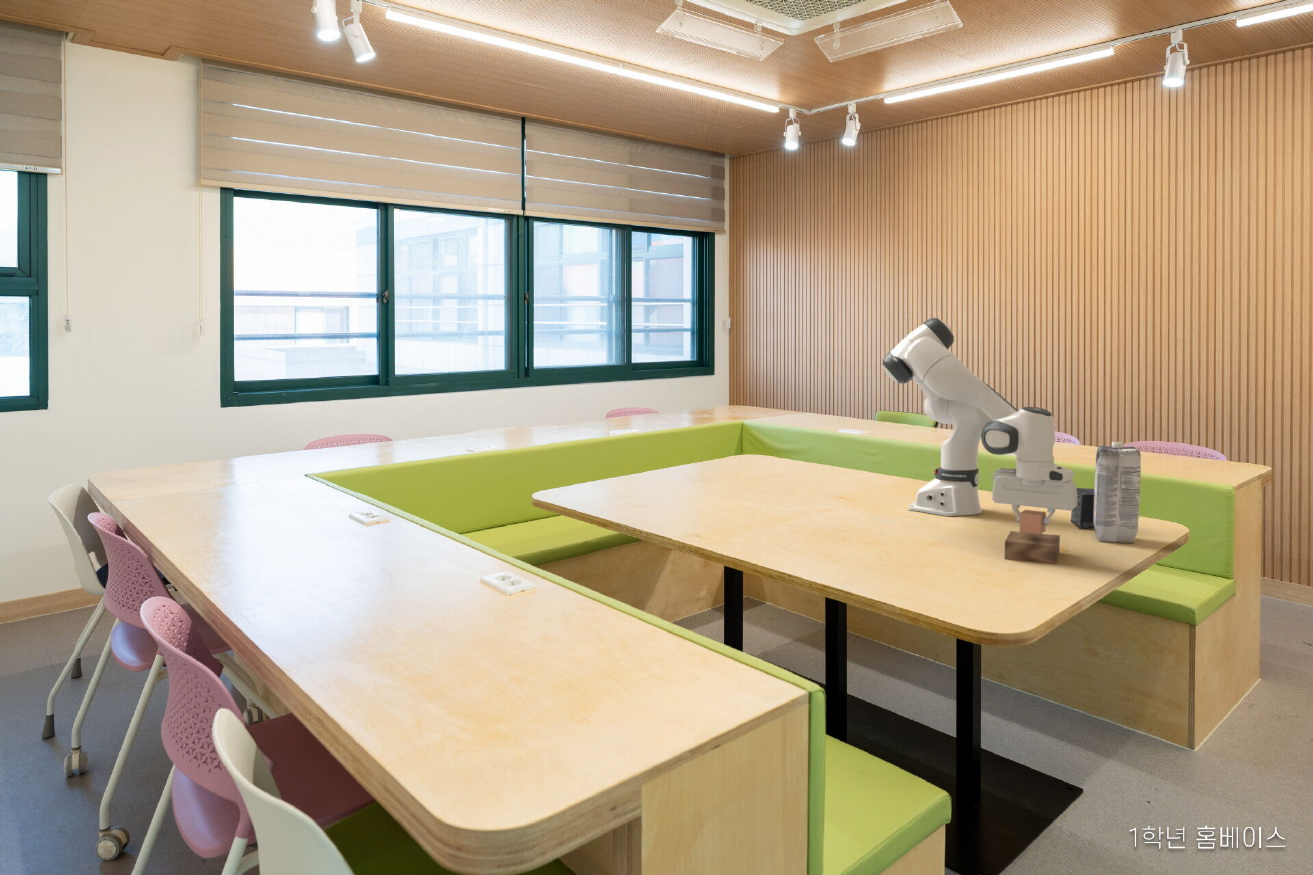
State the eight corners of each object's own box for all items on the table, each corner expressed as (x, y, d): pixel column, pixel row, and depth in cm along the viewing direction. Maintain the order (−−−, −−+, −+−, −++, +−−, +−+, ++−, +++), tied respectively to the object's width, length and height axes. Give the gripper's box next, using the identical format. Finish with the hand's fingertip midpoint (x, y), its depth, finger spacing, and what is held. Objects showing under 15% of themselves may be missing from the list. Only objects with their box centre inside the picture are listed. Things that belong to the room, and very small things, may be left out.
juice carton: (1138, 544, 232) (1143, 445, 228) (1095, 542, 235) (1098, 444, 232) (1133, 537, 240) (1138, 441, 236) (1091, 534, 244) (1095, 440, 240)
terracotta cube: (1019, 532, 222) (1020, 513, 222) (1025, 528, 226) (1025, 509, 226) (1040, 534, 219) (1040, 515, 219) (1045, 530, 223) (1046, 511, 223)
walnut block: (1004, 560, 221) (1004, 541, 221) (1010, 549, 232) (1010, 531, 231) (1055, 565, 216) (1056, 545, 215) (1059, 553, 226) (1059, 535, 225)
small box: (1103, 530, 249) (1105, 494, 248) (1079, 529, 250) (1081, 494, 249) (1093, 521, 259) (1094, 487, 258) (1069, 521, 260) (1071, 487, 259)
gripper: (989, 468, 225) (987, 520, 227) (1074, 475, 212) (1072, 530, 214) (996, 465, 230) (995, 516, 231) (1080, 472, 217) (1078, 525, 219)
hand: (1032, 523), depth 223 cm, fingers closed on terracotta cube, 5 cm apart
